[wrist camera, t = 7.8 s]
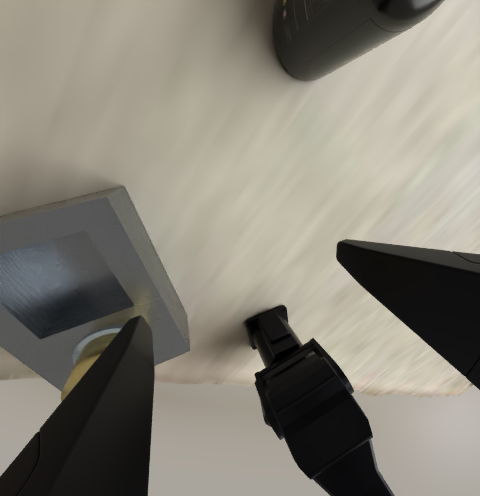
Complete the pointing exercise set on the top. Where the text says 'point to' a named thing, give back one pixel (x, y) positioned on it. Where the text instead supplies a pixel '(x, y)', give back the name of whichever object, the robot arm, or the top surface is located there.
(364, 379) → the top surface
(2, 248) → the housing
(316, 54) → the supplement bottle
